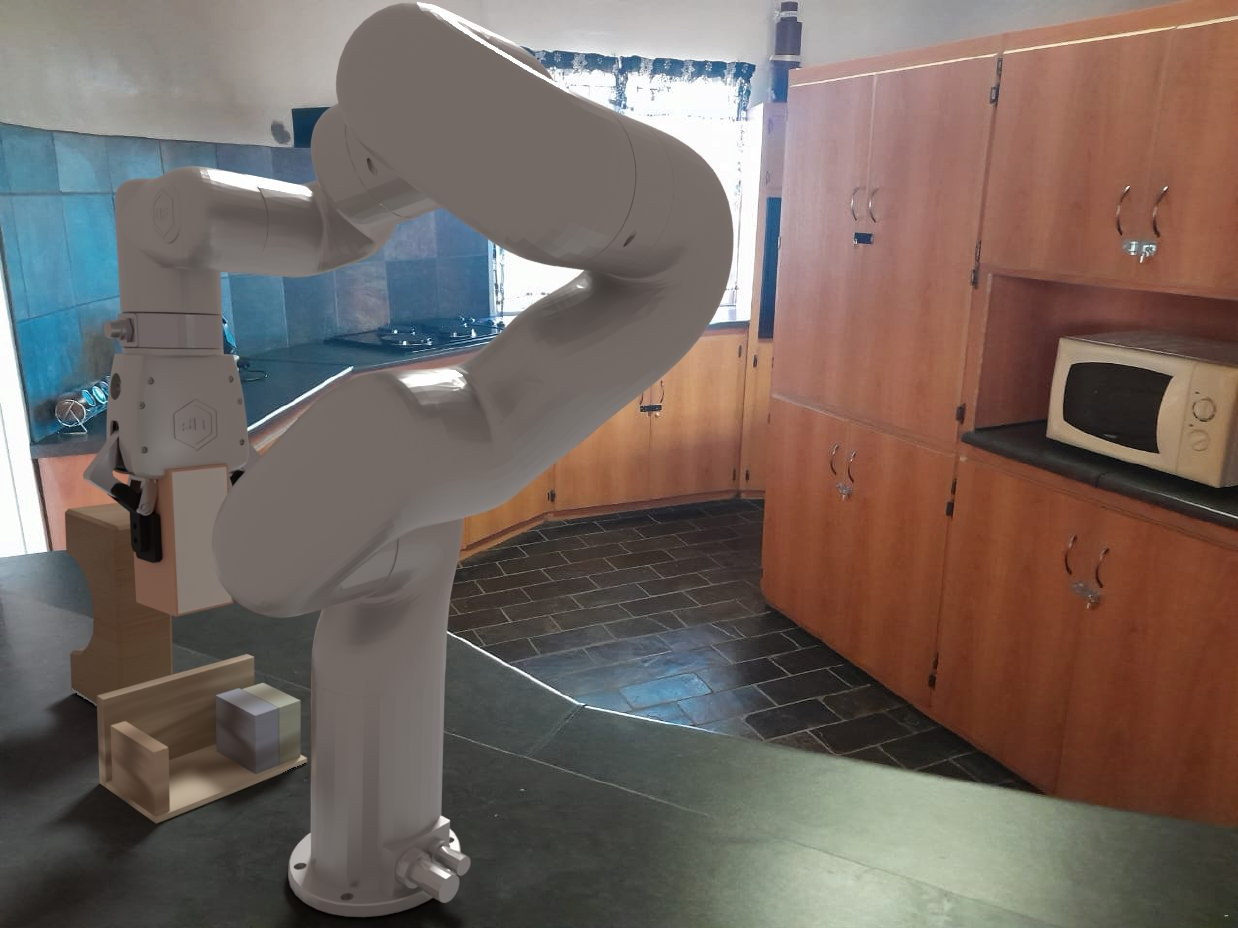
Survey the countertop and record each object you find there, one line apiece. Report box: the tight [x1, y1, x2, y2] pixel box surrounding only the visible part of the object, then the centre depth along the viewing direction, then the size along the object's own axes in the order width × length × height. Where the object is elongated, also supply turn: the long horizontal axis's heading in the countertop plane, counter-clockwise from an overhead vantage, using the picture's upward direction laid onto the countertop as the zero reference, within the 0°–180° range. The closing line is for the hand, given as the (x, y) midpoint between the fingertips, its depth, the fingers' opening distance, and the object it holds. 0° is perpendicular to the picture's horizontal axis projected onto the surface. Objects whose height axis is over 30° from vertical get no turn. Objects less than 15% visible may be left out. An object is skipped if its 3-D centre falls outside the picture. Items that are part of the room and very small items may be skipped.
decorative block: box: [64, 502, 174, 704], centre depth 95 cm, size 11×6×20 cm, turn 52°
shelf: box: [96, 653, 308, 824], centre depth 82 cm, size 10×14×8 cm
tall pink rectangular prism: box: [134, 464, 234, 617], centre depth 78 cm, size 6×5×12 cm
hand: (182, 551), depth 78 cm, fingers closed on tall pink rectangular prism, 5 cm apart
